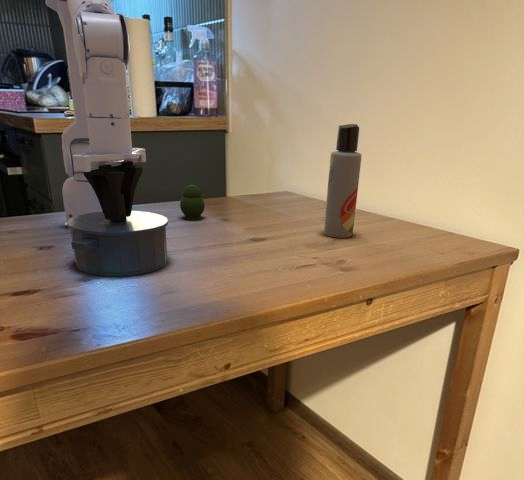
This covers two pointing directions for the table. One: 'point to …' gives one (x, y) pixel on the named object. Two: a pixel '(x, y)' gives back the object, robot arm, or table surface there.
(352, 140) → the lotion bottle
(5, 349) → the table surface
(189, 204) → the avocado
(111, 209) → the robot arm
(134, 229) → the pot lid
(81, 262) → the pot
